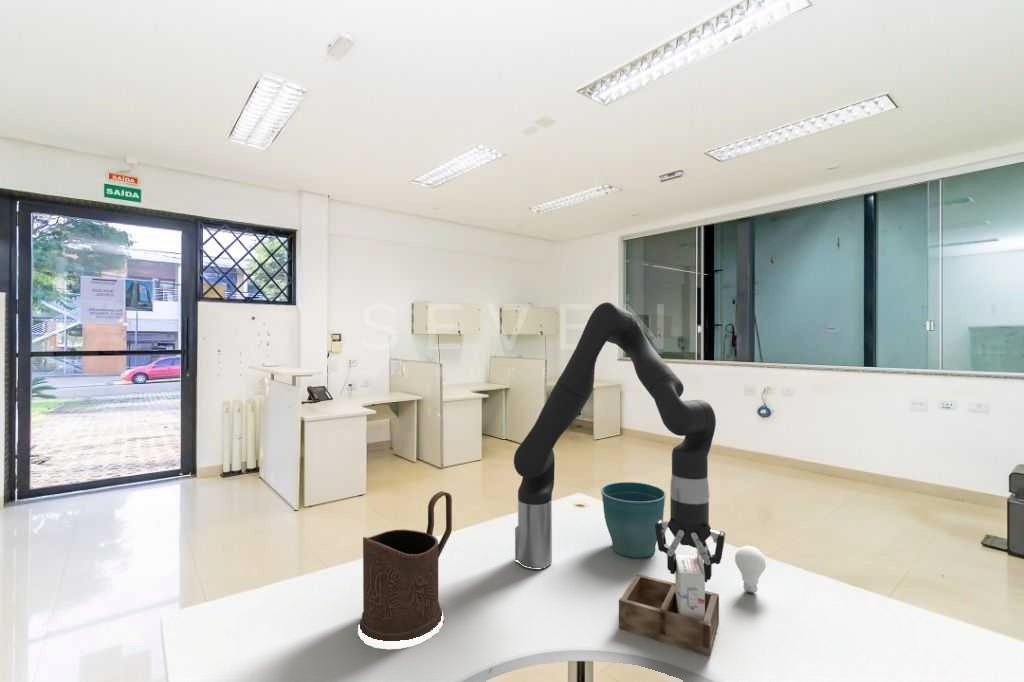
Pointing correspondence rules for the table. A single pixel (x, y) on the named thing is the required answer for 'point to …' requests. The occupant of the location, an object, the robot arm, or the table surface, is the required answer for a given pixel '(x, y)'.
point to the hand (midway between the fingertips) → (689, 576)
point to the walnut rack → (667, 615)
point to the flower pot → (633, 516)
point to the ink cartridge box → (690, 586)
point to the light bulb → (750, 566)
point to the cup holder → (403, 580)
